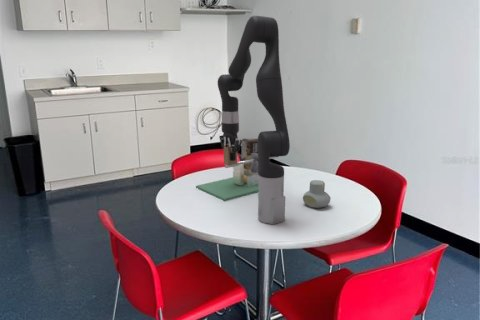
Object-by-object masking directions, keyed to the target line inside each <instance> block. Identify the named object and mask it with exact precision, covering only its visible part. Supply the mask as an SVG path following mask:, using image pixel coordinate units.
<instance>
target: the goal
mask: <svg viewBox="0 0 480 320" xmlns="http://www.w3.org/2000/svg"><path fill="white" fill-rule="evenodd" d="M244 175H246V176H247V187H252V186H256V185H258V184H259V174H257V173H254V172H252V171H249V170H246V169H244Z"/></svg>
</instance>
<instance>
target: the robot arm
mask: <svg viewBox="0 0 480 320" xmlns="http://www.w3.org/2000/svg"><path fill="white" fill-rule="evenodd" d="M279 35H280V34H279V25H278V21H277V20H276V19H275V18H273V17H269V16H264V15H263V16H262V15H261V16H260V15H252V16H250V17H249V19H248V20H247V22H246V24H245V26H244V30H243V31H242V36H241V39H240V42H239V44H238V47H237V50H236V53H235V56H234V57H233V60H231V63H230V65H229V67H228V74H221V75H220V76H219V77H218V78H217V88H218V91H219V95H220V99H221V100H220V101H221V132H222V134H223V135H219V137H218V139H219V141H220V142H219V143H220V146H221V149H222V150H224V146H229V147H230V150H231V161H235V160H236V152H237V153H238V152H240V149H241V147H242V144H241V143H242V139H240V138H239V137H238V133H239V131H240V125H239V124H240V115H239V99H238V97H236V96H231V95H230V93H229V92H237V91H239V90H241V89H242V87H243V86H244V80H245V75H246V74H247V72H248V70H249V68H251V67H250V66H251V64H252V55H251V54H252V53H251V51H250V50H251V49H250V47H251V46H252V44H254V43H258V44H264V45H265V56H264V60H263V61H262V63H261V65H260V67H259V69H258V72H257V74H256V76H255V77H256V78H255V85H256V95H257V97H258V100H259V101H260V103H261V105H262V106H263V107H264V109H265V110H266V111H267V113H268V114H269V115H270V116H271V118H272V120H273V123H274V126H275V130H268V131H267V130H264V131H263V130H262V131H261V132H259V133H258V137H257V139H258V168H259V184H258V192H257V195H258V197H257V198H258V199H257V200H258V201H257V206H258V207H257V211H258V212H257V219H258V221H259V222H261V223H264V224H270V225H276V224H279V223H282V222H284V221H286V196H285V194H284V192H285V191H284V189H285V187H284V186H285V168H284V167H283V165H280V164H277V163H273V162H271V161H270V160H271V159H269V157H276V158H279V157H286V156H288V154H289V152H290V148H291V145H290V144H291V143H290V137H289V136H290V135H289V130H288V124H287V119H286V113H285V106H284V104H285V103H284V94H283V93H284V92H283V91H284V90H283V81H282V74H281V64H280V48H279V47H280V40H279ZM233 147H234V149H233ZM236 148H237V149H236ZM278 156H279V157H278Z"/></svg>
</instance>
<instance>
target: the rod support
mask: <svg viewBox="0 0 480 320" xmlns="http://www.w3.org/2000/svg"><path fill="white" fill-rule="evenodd" d="M255 158H257V162H253V163H251V171H252V172H254V173H257V174H259V168H258V154H257V153H251V159H255Z"/></svg>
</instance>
